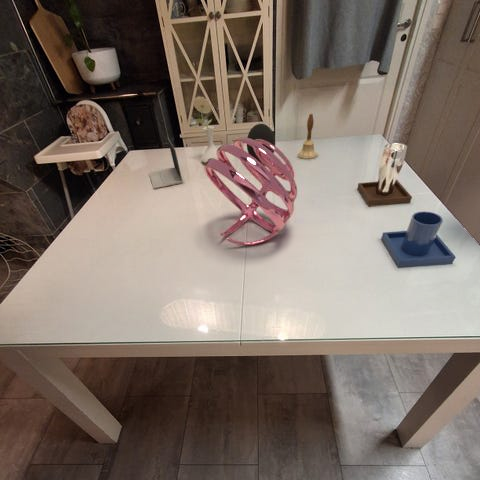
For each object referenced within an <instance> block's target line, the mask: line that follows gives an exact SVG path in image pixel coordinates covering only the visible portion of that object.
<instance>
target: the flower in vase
mask: <svg viewBox="0 0 480 480" xmlns="http://www.w3.org/2000/svg"><path fill="white" fill-rule="evenodd" d="M192 103H193V107H194V108H195V110H197V112H199V113H201V118H199V117H198V118H197V119H196V121H195V123H198V124H201V125H203V124H204V125H205V126H204V127H202V129H203V131H204V132H205V134H206V138H207V144H208V146H207V148H206V149H205V151H204V152H203V153H202V154H201V156H200V160H201V162H202V163H204V164H206V162H207V161H208V160H209V159H210V158H214V159H217V160H218V158H217V150H218V147H216V146H215V143H214V138H213V137H214V129H215V125H208V124H210V123H212V121H213V118H211V119H209V120H208V121H207V123H206V122H205V120H204V118H203V114H204V115H205V114H206V115H207V114H210V112H211V113H212V104H211V103H210V100H208V99H207V98H205V97H204V96H200V95H198V96H195V98H193V102H192Z"/></svg>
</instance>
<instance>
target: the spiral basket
mask: <svg viewBox="0 0 480 480" xmlns="http://www.w3.org/2000/svg"><path fill="white" fill-rule="evenodd" d="M243 143H244V144H246V145H247V144H248V145H250V146H252V147H253V149H254V151H255V153H256V155H257V156H258V158H259V159H260V160H261V161H262V163H260V162H259V161H258V160H257V159H255V158H254V157H253V156H251V155H250V154H249V153H248V151H246V150H245V149H244V146H243V145H244V144H243ZM262 144H264V145H266V146H268V147H270V148H271V149H272V150H274V154H273V153H272V152H271V151H270V150H269V149H267V148H266V147H265V146H263V145H262ZM217 149H218V150H217V158H218V160H217V159H214V158H210V159H209V160H208V161H207V162H206V163H204V167H203V170H204V172H205V174H206V176H207V177H208V179H209V180H210V181H211V183H212V184H213V185H214V186H215V187H216V188H217V189H218V191H219V192H220V193H221V194H222V195H223V196H224V197H225V198H226V199H227V200H228V201H229V202H231V204H232V205H234V206H235V207H236V208H237V209H238V210H239V211H240V212H241V215H240V216H239V218H237V219H236V221H235V222H234V223H233V224H231V226H230V227H228V228H227V229H226V230H224V231H223V232H221V233H219V236H220V237H223V236H228V235H230V234H232V233H234V232H235V231H237V230H238V229H239V228H240V227H242V226H243V225H244V224H245V223H246V222H247V221H248V220H251V221H253V222H254V223H256V224H257V225H258V226H261V227H262V228H263V229H265V230H267V231H269V232H271V233H270V234H268V235H267V236H265V237H263V238H260V239H257V240H254V241H239V240H235V239H233V238H229V237H226V238H225V240H226V241H227V242H229V243H232V244H235V245H240V246H254V245H258V244H262V243H264V242H266V241H268V240H270V239H272V238H274V236H276V235H277V234H279V233H281V231H283V229H284V227H285V225H286V224H287V222H288V221H289V219H290V218H291V217H292V216H293V214H294V210H295V200H296V199H297V196H298V185H297V182H296V180H295V169H294V168H293V164H292V163H291V161H290V160H289V158H288V157H287V156H286V154H284V153H283V152H282V150H280V149H279V148H278V147H277V146H276V145H275V146H274V145H273V144H271V143H269V142H268V141H265V140H262V139H255V140H253V139H250V138H247V137H238V138H236V139H235V140H234V141H233V144H232V143H224V144H222V145H221V146H219V147H217ZM226 153H228V154H230V155H232V156H234V157H235V158H237V159H238V160H239V161H240V162H241V164H242V165H243V166H244V168H245V169H247V171H248V172H249V173H250V174H251V176H253V178H255V180H257V181H258V183H260V184H261V188H260V189H258V188H257V187H256V186H255V185H254V184H253V183H251V182H250V180H248V179H247V178H246V177H245V176H243V175H242V174H241V173H239V172H238V171H237V169H236V168H235V167H234V166H233V165H232V163H231V161H230V160H229V158H228V156H227V154H226ZM275 153H276V154H277V155H278V156H279V157H280V158H281V159H282V160H283V162H282V161H281V159H280V158H278V156H277V155H276V154H275ZM217 173H219V174H220V175H221V176H223V177H225V178H226V179H227V180H229V181H230V182H231V183H232V184H233V185H235V186H236V187H237V188H239V189H240V190H241V191H242V192H243V193H245V194H246V195H247V196H248V197H249V198H250V199H251V202H250V203H249V204H246V203H245V202H244V201H242V199H241V198H240V197H238V196H237V195H236V194H235V193H234V192H233V191H232V190H231V189H230V188H229V187H228V186H227V184H225V182H224V181H223V180H222V179H221V178H220V177H219V176H218V174H217ZM277 177H278V178H280V179H282V180H284V181H286V182H288V183H289V185H290V190H288V189H286V187H285V186H284V185H283V184H282V183H281V181H280V180H279V179H278V178H277ZM268 192H271V193H273V194H274V195H275V196H277V197H279V198H280V199H281V200H282V202H283V203H284V205H285V207H286V209H285V208H282V207H280V206H278V205H276V204H275V203H273V202H271V201H270V200H269V199H268V197H266V196H267V193H268ZM258 208H260V209H261V210H262V211H263V212H264V213H265V214H266V215H267V216H268V218H270V220H271V221H272V222H270V221H269V220H268V219H265V218H264V217H263V216H261V214H258V212H257V209H258Z"/></svg>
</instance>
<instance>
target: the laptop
mask: <svg viewBox="0 0 480 480" xmlns="http://www.w3.org/2000/svg"><path fill="white" fill-rule="evenodd" d="M167 142H168V145H169V146H168V147H169V150H170V154H171V158H172V162H173V167H170V168H166V169H165V168H164V169H160V170H155V171H151V172H149V173H148V175H149V179H150V182H151V184H152V187H153V189H159V188H164V187H169V186H175V185H179V184H183V178H182V173H181V168H180V165H179V164H180V163H179V160H178V155H177V151H176V149H175V147H174V145H173V144H172V141H171V140H170V138H169V137H167Z"/></svg>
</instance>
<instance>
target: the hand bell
mask: <svg viewBox="0 0 480 480" xmlns="http://www.w3.org/2000/svg"><path fill="white" fill-rule="evenodd" d="M314 123H315V122H314V114H313V113H310V114H309V115H308V118H307V122H306V128H307V136H306V140H305V141H304V142H303V144H302V149H301V150H300V152H299V153H298V155H297V156H298V158H300V159H304V160H311V159H314V158H316V157H317V156H318V154H317V152H316V150H315V144H314V141H313V140H312V131H313V128H314Z"/></svg>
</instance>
